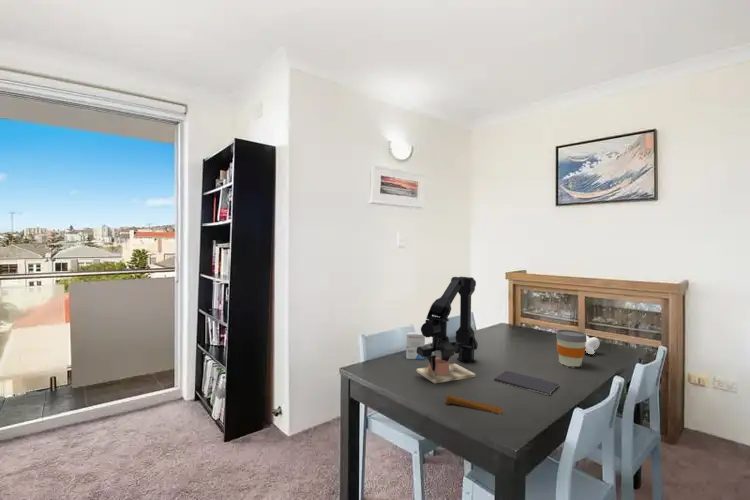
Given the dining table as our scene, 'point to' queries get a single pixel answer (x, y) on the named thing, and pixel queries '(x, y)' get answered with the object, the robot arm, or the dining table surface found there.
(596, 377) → the dining table surface
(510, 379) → the notebook
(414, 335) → the ink box
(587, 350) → the white rounded figurine
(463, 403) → the primitive tool
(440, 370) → the block
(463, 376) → the board
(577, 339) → the reusable coffee cup
